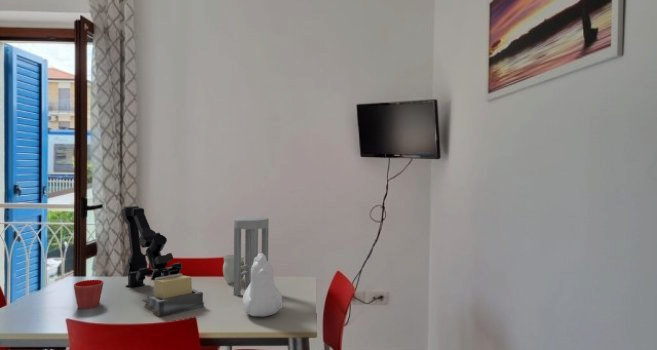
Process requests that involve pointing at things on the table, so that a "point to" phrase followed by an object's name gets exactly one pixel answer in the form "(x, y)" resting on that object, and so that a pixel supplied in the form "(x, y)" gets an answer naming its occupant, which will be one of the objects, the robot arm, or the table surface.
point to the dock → (174, 304)
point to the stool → (248, 247)
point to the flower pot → (88, 293)
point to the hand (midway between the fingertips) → (165, 288)
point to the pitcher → (231, 268)
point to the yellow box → (172, 286)
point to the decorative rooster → (262, 290)
